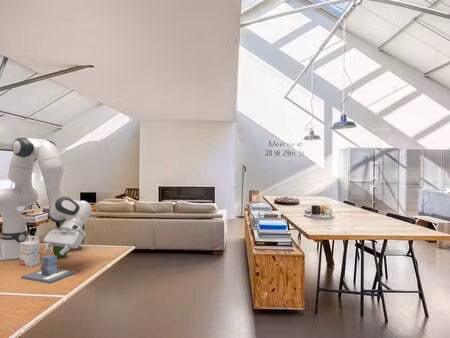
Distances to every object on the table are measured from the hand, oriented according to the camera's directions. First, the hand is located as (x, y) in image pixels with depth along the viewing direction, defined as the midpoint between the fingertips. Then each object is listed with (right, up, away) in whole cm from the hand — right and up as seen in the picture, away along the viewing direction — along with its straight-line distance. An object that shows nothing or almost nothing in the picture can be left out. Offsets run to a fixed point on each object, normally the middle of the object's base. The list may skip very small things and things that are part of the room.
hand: (53, 253), depth 148 cm
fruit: (-11, -10, +28) cm, 32 cm away
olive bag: (-14, -10, +45) cm, 48 cm away
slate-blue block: (-1, -9, -2) cm, 9 cm away
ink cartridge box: (-20, -10, +14) cm, 27 cm away
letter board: (-1, -10, -2) cm, 10 cm away
